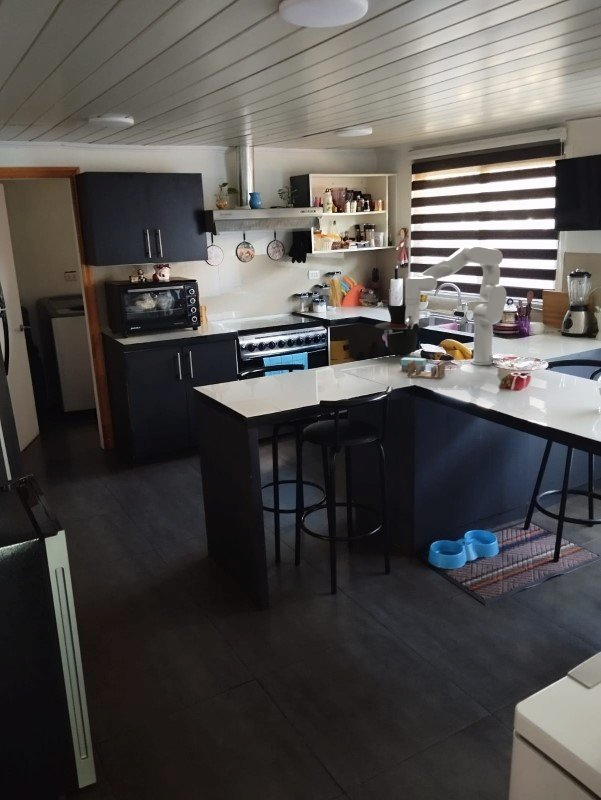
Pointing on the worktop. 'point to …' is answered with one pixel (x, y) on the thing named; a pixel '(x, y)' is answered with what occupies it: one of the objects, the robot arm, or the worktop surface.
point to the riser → (405, 367)
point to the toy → (399, 332)
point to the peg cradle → (435, 373)
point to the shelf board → (417, 361)
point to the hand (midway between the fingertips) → (412, 334)
